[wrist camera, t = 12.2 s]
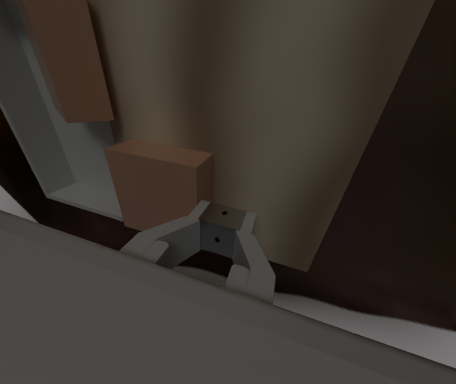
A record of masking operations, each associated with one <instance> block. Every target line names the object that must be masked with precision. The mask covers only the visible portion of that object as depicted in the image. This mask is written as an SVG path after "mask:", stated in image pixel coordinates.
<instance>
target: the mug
mask: <svg viewBox="0 0 456 384" xmlns="http://www.w3.org/2000/svg"><path fill="white" fill-rule="evenodd" d="M23 157H24V153H23V151H22V149H21V147H20V145H19V143H18V141H17V139H16V137H15V135H14V133H13V131H12V129H11V127H10V125H9V123H8V121H7V119H6V118H5V116H4V114H3V112H2V110H1V108H0V167H4V166H7V165H10V164H13V163H16V162H18V161H20V160H21V159H22V158H23Z"/></svg>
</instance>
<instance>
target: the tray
mask: <svg viewBox="0 0 456 384" xmlns="http://www.w3.org/2000/svg"><path fill="white" fill-rule="evenodd" d="M0 108H1V110H2V112H3V114H4V116H5V118H6V119H7V121H8V123H9V125H10V127H11V129H12V131H13V133H14V135H15V137H16V139H17V141H18V143H19V145H20V147H21V149H22V151H23V153H24V155H25V157H26V159H27V160H28V162H29V164H30V166H31V168H32V170H33V172H34V174H35V176H36V178H37V180H38V182H39V184H40V186H41V188H42V190H43V192H44V194H45V196H46V198H49V199H53V200H56V201H59V202H62V203H65V204H69V205H72V206H75V207H78V208H82V209H85V210H88V211H91V212H94V213H98V214H101V215H104V216H107V217H110V218H114V219H117V220H120V221H124V220H123V217H122V213H121V210H120V206H119V202H118V199H117V195H116V192H115V188H114V184H113V181H112V177H111V174H110V170H109V166H108V163H107V159H106V156H105V152H104V148H106V147H110V146H113V145H115V143H114V138H113V134H112V130H111V126H110V122H109V121H95V122H79V123H67V122H66V121H65V120H64V119H63V117H62V116H61V115H60V114H59V112H58V111H57V110H56V109H55V107H54V105H53V102H52V99H51V97H50V94H49V91H48V89H47V86H46V83H45V81H44V78H43V75H42V73H41V70H40V67H39V65H38V62H37V59H36V57H35V54H34V51H33V49H32V46H31V43H30V41H29V38H28V35H27V33H26V30H25V28H24V25H23V22H22V20H21V17H20V14H19V12H18V9H17V6H16V4H15V1H14V0H0Z"/></svg>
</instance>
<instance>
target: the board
mask: <svg viewBox="0 0 456 384" xmlns="http://www.w3.org/2000/svg"><path fill="white" fill-rule="evenodd" d="M434 1H435V0H87V5H88V9H89V13H90V18H91V22H92V26H93V31H94V35H95V39H96V44H97V48H98V52H99V56H100V61H101V65H102V69H103V74H104V78H105V82H106V87H107V91H108V95H109V100H110V104H111V108H112V113H113V117H114V120H110V121H109V122H110V126H111V130H112V134H113V138H114V143H115V145H116V144H119V143H122V142H125V141H128V140H131V139H136V140H142V141H147V142H153V143H158V144H164V145H169V146H175V147H180V148H185V149H191V150H196V151H202V152H207V153H213V178H212V202H214V203H218V204H221V205H225V206H229V207H232V208H237V209H241V210H245V211H251V212H256V213H257V220H256V225H255V230H254V235H255V237H256V239H257V241H258V243H259V245H260V247H261V249H262V251H263V253H264V255H265V256H266V258H267V260H269V261H272V262H275V263H279V264H282V265H285V266H288V267H292V268H295V269H298V270H302V271H305V272H307V271H308V269H309V267H310V264H311V262H312V260H313V258H314V256H315V254H316V252H317V250H318V247H319V245H320V243H321V241H322V239H323V237H324V235H325V233H326V230H327V228H328V226H329V224H330V222H331V220H332V218H333V216H334V213H335V211H336V209H337V207H338V205H339V203H340V201H341V199H342V196H343V194H344V192H345V190H346V188H347V186H348V184H349V182H350V179H351V177H352V175H353V173H354V171H355V169H356V167H357V165H358V162H359V160H360V158H361V156H362V154H363V152H364V150H365V148H366V145H367V143H368V141H369V139H370V137H371V135H372V133H373V131H374V128H375V126H376V124H377V122H378V120H379V118H380V116H381V114H382V111H383V109H384V107H385V105H386V103H387V101H388V99H389V97H390V94H391V92H392V90H393V88H394V86H395V84H396V82H397V80H398V77H399V75H400V73H401V71H402V69H403V67H404V65H405V63H406V60H407V58H408V56H409V54H410V52H411V50H412V48H413V46H414V43H415V41H416V39H417V37H418V35H419V33H420V31H421V29H422V26H423V24H424V22H425V20H426V18H427V16H428V14H429V12H430V9H431V7H432V5H433V3H434Z"/></svg>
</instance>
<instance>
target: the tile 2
mask: <svg viewBox="0 0 456 384" xmlns="http://www.w3.org/2000/svg"><path fill="white" fill-rule="evenodd" d="M104 152H105V156H106V159H107V163H108V166H109V170H110V174H111V177H112V181H113V184H114V188H115V192H116V195H117V199H118V202H119V206H120V210H121V213H122V217H123V220H124V224H125V226H127V227H130V228H134V229H137V230H140V231H145V230H148V229H151V228H153V227H156V226H159V225H162V224H164V223H167V222H170V221H173V220H175V219H178V218H181V217H184V216H186V217H187V216H188V215H189V214H190V213H191V212H192V211H193V209H194V208H195V207H196V206H197V205H198V203H199V202H200V201H201V200H206V201H210V202H212V178H213V153H207V152H202V151H196V150H191V149H185V148H180V147H175V146H169V145H164V144H158V143H153V142H147V141H142V140H136V139H131V140H128V141H125V142H122V143H119V144H116V145H113V146H110V147H106V148H104Z"/></svg>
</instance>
